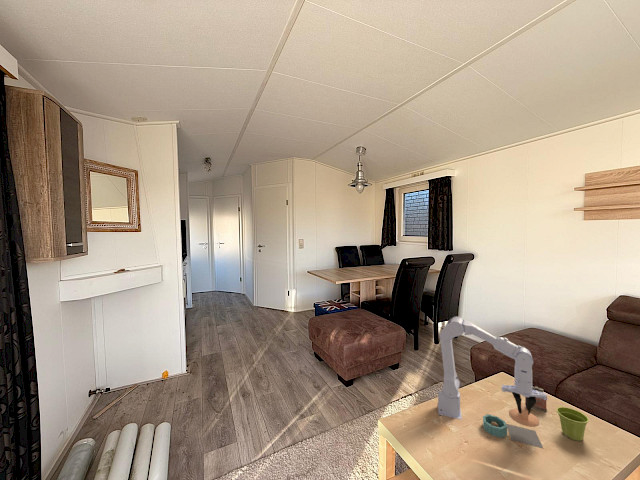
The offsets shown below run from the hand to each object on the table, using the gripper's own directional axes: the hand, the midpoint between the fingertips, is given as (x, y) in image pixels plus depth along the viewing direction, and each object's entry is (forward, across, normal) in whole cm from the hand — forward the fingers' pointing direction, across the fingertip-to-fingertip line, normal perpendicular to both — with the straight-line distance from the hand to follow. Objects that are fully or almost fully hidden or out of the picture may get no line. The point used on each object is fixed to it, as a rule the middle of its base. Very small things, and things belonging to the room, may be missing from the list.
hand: (523, 412), depth 106 cm
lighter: (+10, +10, +24) cm, 28 cm away
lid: (+2, 0, 0) cm, 3 cm away
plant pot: (+10, +18, +9) cm, 23 cm away
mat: (+10, 0, 0) cm, 10 cm away
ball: (+9, -10, -1) cm, 14 cm away
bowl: (+10, -10, -1) cm, 14 cm away
